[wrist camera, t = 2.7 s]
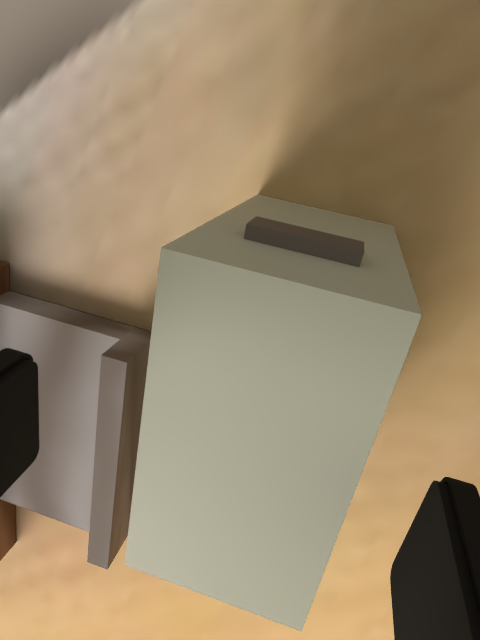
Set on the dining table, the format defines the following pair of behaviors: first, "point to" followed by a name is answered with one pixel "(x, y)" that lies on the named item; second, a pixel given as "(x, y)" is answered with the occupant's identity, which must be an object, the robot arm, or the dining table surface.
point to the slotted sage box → (264, 399)
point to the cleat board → (78, 418)
